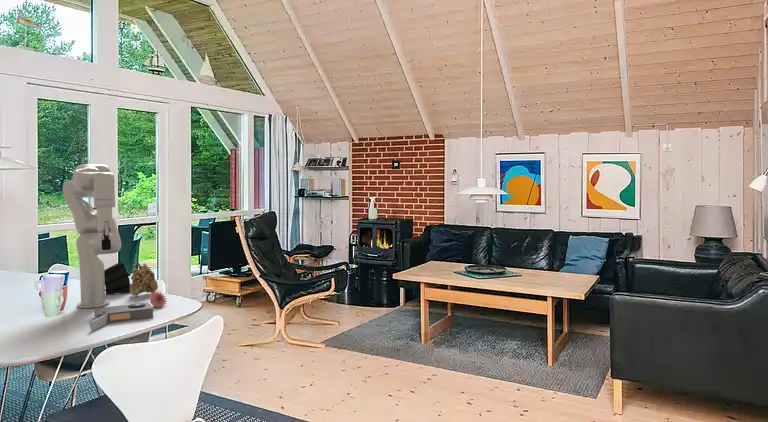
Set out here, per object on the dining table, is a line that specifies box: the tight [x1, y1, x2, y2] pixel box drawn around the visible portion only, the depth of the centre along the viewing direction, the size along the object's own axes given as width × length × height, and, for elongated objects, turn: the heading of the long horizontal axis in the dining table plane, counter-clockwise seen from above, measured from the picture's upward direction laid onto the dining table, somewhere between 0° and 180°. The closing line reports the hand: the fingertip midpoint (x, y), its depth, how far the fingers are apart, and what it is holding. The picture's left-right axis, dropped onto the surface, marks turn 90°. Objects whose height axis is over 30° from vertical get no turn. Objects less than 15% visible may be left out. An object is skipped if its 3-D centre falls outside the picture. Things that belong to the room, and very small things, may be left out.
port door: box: [89, 314, 109, 332], centre depth 211 cm, size 2×11×4 cm, turn 179°
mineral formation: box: [129, 263, 159, 297], centre depth 269 cm, size 8×13×15 cm, turn 137°
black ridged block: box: [104, 261, 131, 296], centre depth 273 cm, size 4×13×15 cm, turn 124°
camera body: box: [93, 301, 154, 324], centre depth 225 cm, size 12×20×4 cm, turn 121°
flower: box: [149, 290, 168, 308], centre depth 245 cm, size 8×8×6 cm
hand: (106, 249), depth 225 cm, fingers closed
